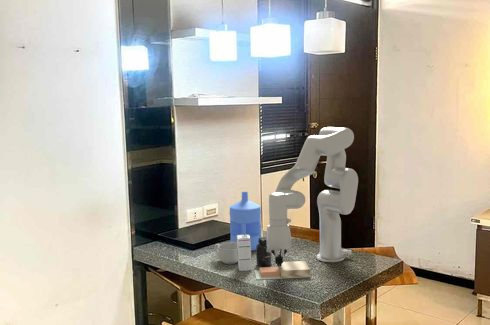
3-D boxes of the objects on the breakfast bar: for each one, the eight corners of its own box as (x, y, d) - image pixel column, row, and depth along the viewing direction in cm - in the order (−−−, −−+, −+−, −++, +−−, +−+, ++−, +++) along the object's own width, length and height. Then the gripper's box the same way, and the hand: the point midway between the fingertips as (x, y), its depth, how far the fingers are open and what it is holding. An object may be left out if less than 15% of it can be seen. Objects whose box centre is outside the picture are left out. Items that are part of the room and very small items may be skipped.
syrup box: (252, 270, 213) (251, 237, 211) (238, 271, 213) (237, 238, 211) (250, 266, 219) (250, 234, 217) (237, 266, 218) (236, 234, 217)
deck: (305, 267, 214) (304, 260, 214) (310, 276, 203) (310, 269, 203) (277, 268, 213) (277, 262, 213) (281, 277, 202) (281, 270, 202)
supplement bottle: (267, 268, 216) (266, 241, 214) (253, 265, 219) (253, 239, 218) (274, 263, 221) (274, 237, 220) (261, 261, 225) (260, 235, 224)
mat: (305, 268, 214) (305, 267, 214) (310, 277, 203) (310, 276, 203) (254, 270, 213) (254, 270, 212) (256, 279, 202) (256, 279, 202)
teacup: (246, 261, 225) (246, 244, 224) (230, 267, 218) (229, 250, 217) (225, 255, 235) (224, 239, 234) (208, 261, 227) (208, 244, 226)
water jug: (233, 242, 256) (231, 189, 253) (263, 243, 254) (262, 189, 251) (228, 251, 241) (226, 195, 238) (260, 252, 239) (258, 195, 236)
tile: (278, 271, 210) (278, 266, 210) (280, 276, 204) (280, 271, 204) (259, 272, 210) (259, 267, 210) (260, 277, 204) (260, 272, 204)
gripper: (294, 219, 209) (295, 261, 212) (259, 221, 208) (260, 263, 211) (297, 223, 202) (298, 267, 204) (261, 225, 201) (262, 268, 203)
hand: (279, 265), depth 207 cm, fingers closed
